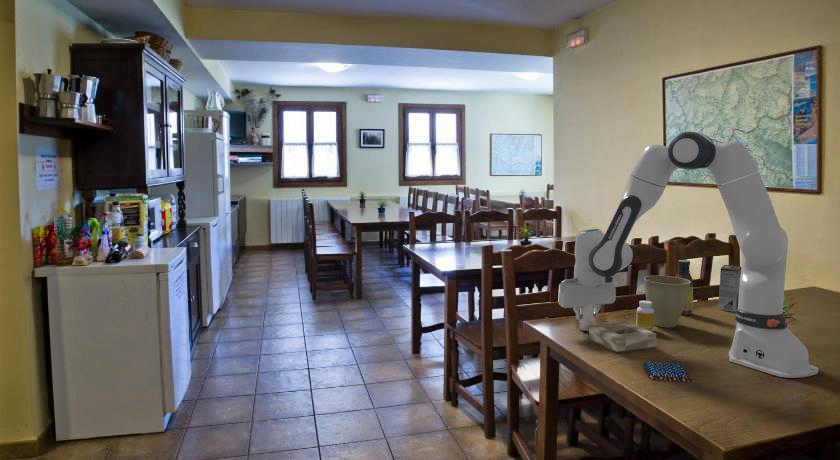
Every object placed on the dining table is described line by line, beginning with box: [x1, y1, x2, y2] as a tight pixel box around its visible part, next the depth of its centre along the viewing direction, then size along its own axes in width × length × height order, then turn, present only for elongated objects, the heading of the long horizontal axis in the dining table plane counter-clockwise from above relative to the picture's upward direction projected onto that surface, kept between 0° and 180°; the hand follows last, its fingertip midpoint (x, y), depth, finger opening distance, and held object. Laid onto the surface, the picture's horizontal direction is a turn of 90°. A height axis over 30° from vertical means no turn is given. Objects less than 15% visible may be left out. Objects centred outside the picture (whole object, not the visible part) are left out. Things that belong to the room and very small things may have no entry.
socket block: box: [588, 321, 657, 354], centre depth 183 cm, size 14×14×5 cm
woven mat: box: [642, 361, 692, 382], centre depth 159 cm, size 10×11×2 cm
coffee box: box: [717, 264, 742, 313], centre depth 226 cm, size 9×6×16 cm
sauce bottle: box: [675, 259, 694, 316], centre depth 219 cm, size 6×6×20 cm
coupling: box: [578, 304, 595, 332], centre depth 197 cm, size 7×4×9 cm, turn 19°
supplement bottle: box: [635, 300, 654, 332], centre depth 198 cm, size 5×5×10 cm
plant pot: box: [643, 275, 691, 328], centre depth 204 cm, size 15×15×16 cm
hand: (586, 318), depth 198 cm, fingers closed on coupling, 4 cm apart
